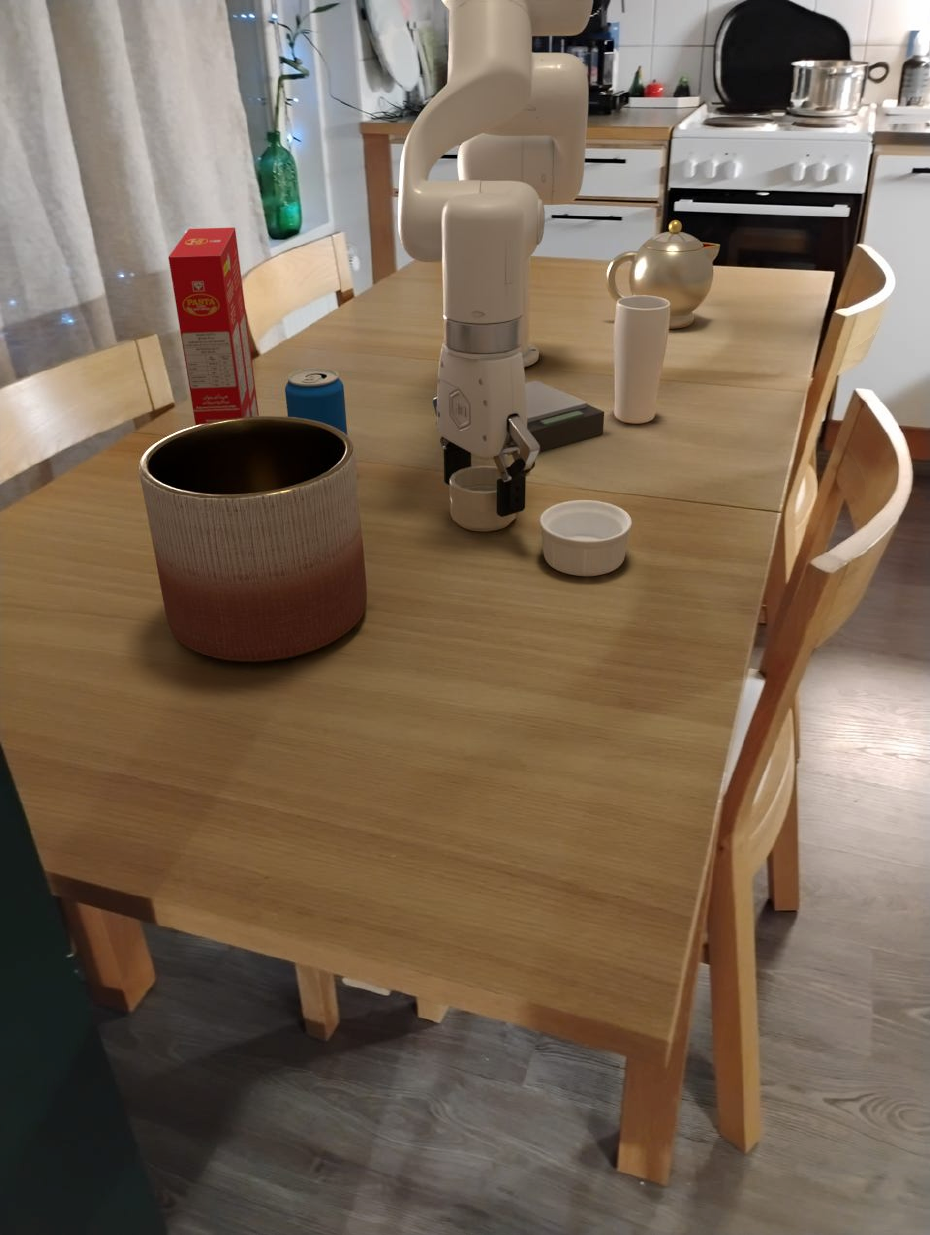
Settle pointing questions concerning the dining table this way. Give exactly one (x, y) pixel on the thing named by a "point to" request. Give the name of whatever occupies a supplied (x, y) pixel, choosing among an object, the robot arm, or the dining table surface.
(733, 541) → the dining table surface
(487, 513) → the bowl
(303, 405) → the beverage can
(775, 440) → the dining table surface
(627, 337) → the drinking glass
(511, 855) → the dining table surface
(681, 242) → the teapot
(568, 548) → the ramekin
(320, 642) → the planter
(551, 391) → the scale
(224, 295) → the food packaging
